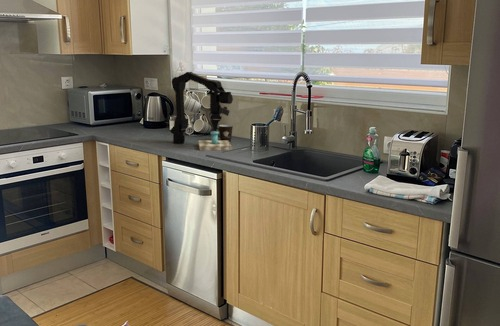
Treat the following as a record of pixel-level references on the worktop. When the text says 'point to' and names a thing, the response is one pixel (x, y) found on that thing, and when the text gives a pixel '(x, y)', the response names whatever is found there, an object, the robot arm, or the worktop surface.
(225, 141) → the keyhole board
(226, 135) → the coffee mug
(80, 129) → the worktop surface
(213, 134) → the peg
